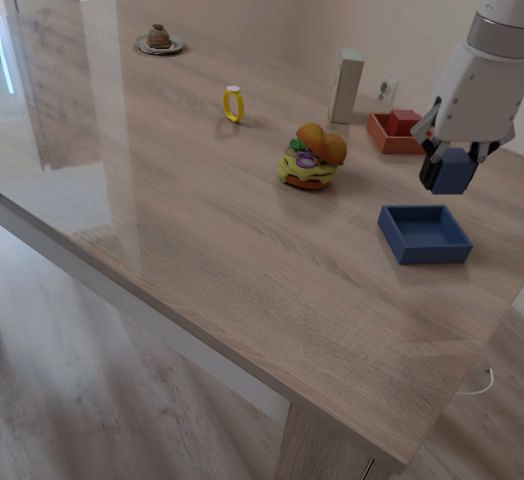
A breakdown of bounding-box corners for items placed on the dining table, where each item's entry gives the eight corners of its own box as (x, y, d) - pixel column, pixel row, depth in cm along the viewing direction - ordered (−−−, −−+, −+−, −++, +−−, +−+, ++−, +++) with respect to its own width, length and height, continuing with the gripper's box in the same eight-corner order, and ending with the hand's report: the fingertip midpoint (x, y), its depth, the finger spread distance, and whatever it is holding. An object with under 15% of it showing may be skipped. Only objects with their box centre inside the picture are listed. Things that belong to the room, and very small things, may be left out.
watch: (246, 124, 96) (248, 93, 91) (234, 127, 95) (236, 95, 90) (230, 112, 99) (231, 81, 94) (219, 114, 98) (219, 83, 93)
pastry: (135, 38, 122) (132, 16, 118) (182, 39, 124) (181, 18, 120) (135, 55, 114) (133, 33, 111) (186, 56, 116) (185, 35, 113)
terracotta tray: (414, 128, 101) (418, 113, 99) (432, 153, 94) (438, 138, 92) (366, 127, 99) (369, 112, 97) (381, 153, 93) (386, 137, 90)
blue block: (449, 177, 69) (462, 147, 66) (462, 194, 66) (476, 164, 63) (421, 177, 68) (432, 147, 65) (432, 194, 66) (445, 164, 62)
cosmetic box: (328, 109, 103) (339, 46, 94) (348, 111, 104) (361, 48, 94) (329, 122, 99) (342, 57, 90) (350, 124, 100) (365, 60, 90)
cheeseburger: (265, 165, 85) (284, 108, 79) (315, 172, 90) (336, 119, 84) (287, 195, 79) (309, 136, 73) (339, 201, 84) (364, 146, 78)
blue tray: (438, 220, 79) (445, 204, 77) (465, 262, 72) (473, 246, 70) (377, 222, 77) (382, 205, 75) (398, 264, 70) (405, 247, 68)
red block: (405, 132, 98) (412, 109, 95) (413, 142, 95) (420, 120, 92) (385, 131, 97) (391, 109, 94) (392, 142, 95) (399, 119, 91)
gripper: (552, 30, 57) (484, 171, 71) (421, 22, 54) (377, 170, 68) (588, 53, 52) (508, 199, 66) (446, 45, 50) (394, 200, 64)
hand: (442, 183), depth 67 cm, fingers closed on blue block, 4 cm apart
